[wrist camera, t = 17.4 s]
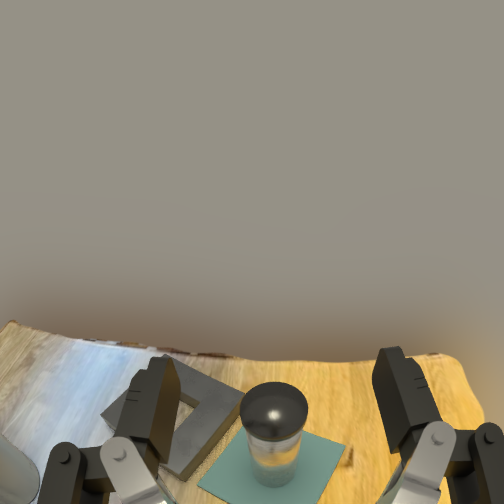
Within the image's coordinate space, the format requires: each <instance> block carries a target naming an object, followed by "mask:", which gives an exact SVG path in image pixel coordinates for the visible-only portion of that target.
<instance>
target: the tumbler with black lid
mask: <svg viewBox="0 0 504 504" xmlns="http://www.w3.org/2000/svg"><path fill="white" fill-rule="evenodd" d="M307 414H308V403H307V400H306V398H305V396H304V395H303V394H302V392H301V391H299V390H298V389H297V388H296V387H294V386H292V385H289V384H287V383H282V382H267V383H263V384H260V385H257V386H255V387H254V388H252V389H251V390H249V391H248V392H247V393H246V394H245V396H244V397H243V399H242V401H241V404H240V416H241V421H242V424H243V426H244V428H245V431H246V437H247V443H248V448H249V454H250V460H251V465H252V471H253V475H254V477H255V479H256V480H257V481H258V482H259V483H260V484H262V485H264V486H266V487H271V488H276V487H281V486H284V485H286V484H287V483H289V482H290V481H291V480H292V479H293V477H294V475H295V472H296V466H297V461H298V455H299V449H300V443H301V437H302V430H303V427H304V425H305V423H306V420H307Z"/></svg>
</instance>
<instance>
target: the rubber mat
mask: <svg viewBox="0 0 504 504" xmlns="http://www.w3.org/2000/svg"><path fill="white" fill-rule="evenodd" d="M344 448H345V445H342V444H339V443H336V442H333V441H331V440H328V439H325V438H322V437H319V436H316V435H314V434H311V433H308V432H306V431H303V430H302V437H301V443H300V449H299V455H298V461H297V466H296V472H295V475H294V477H293V479H292V480H291V481H290V482H289V483H287V484H286V485H284V486H281V487H276V488H271V487H266V486H264V485H262V484H260V483H259V482H258V481H257V480H256V479H255V477H254V475H253V471H252V465H251V460H250V454H249V448H248V443H247V437H246V431H245V428H244V426H242V427H241V429H240V430H239V432H238V433H237V434H236V436H235V437H234V438H233V439H232V441H231V442H230V443H229V445H228V446H227V447H226V449H225V450H224V451H223V453H222V454H221V455H220V456H219V458H218V459H217V460H216V461H215V463H214V464H213V465H212V466H211V468H210V469H209V470H208V471H207V473H206V474H205V475H204V476H203V478H202V479H201V480H200V481H199V482H198V484H197V486H199V487H201V488H202V489H204V490H206V491H207V492H209V493H211V494H213V495H214V496H216V497H218V498H220V499H222V500H224V501H225V502H227V503H229V504H316V503H317V501H318V499H319V498H320V496H321V494H322V492H323V490H324V488H325V487H326V485H327V483H328V481H329V479H330V477H331V475H332V473H333V471H334V469H335V467H336V465H337V463H338V461H339V459H340V457H341V455H342V453H343V451H344Z"/></svg>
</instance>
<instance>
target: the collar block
mask: <svg viewBox="0 0 504 504" xmlns="http://www.w3.org/2000/svg"><path fill="white" fill-rule="evenodd" d="M162 357H170V356H168V355H167V354H164V355H163V356H162ZM170 358H172V357H170ZM172 360H173V363H174V366H175V369H176V371H177V374H178V377H179V380H180V384H181V394H180V400H181V401H183V402H185V403H186V404H188V405H190V406H192V407H193V408H195V409H194V410H193V412H192V413H191V414H190V415H189V416H188V417H187V418H186V419H185V421H184V422H183V423H182V424H181V425H180V426H179V427H178V428H177V430H176V431H175V432H174V433H173V438H172V443H171V449H170V455H169V461H168V464H161V463H159V465H160V466H161V467H163V468H164V469H166V470H167V471H169V472H170V473H172V474H173V475H175V476H176V477H178V478H179V479H181V480H182V481H184V482H186V481H187V479H188V478H189V477H190V476H191V475H192V474H193V472H194V471H195V470H196V469H197V468H198V466H199V465H200V464H201V463H202V462H203V460H204V459H205V458H206V457H207V455H208V454H209V453H210V452H211V451H212V449H213V448H214V447H215V446H216V444H217V443H218V442H219V440H220V439H221V438H222V437H223V435H224V434H225V433H226V432H227V430H228V429H229V428H230V426H231V425H232V424H233V422H234V421H235V420H236V419H237V417H238V416H239V415H240V404H241V401H242V399H243V397H244V396H245V393H243V392H241V391H239V390H236V389H234V388H232V387H230V386H228V385H226V384H224V383H221V382H219V381H217V380H215V379H213V378H211V377H209V376H207V375H205V374H203V373H201V372H199V371H197V370H195V369H193V368H191V367H189V366H187V365H185V364H183V363H182V362H180V361H178V360H176V359H174V358H172ZM128 389H129V388H128ZM128 389H127V390H126V391H125V392H124V393H123V394H122V395H121V396H120V397H119V398H117V399H116V400H115V401H114V402H113V403H112V404H111V405H110V406H109V407H108V408H107V409H106V410H105V411H104V412H103V413H101V414H100V415H101V417H102V418H103V419H104V420H105V422H106V423H107V424H108V426H110V427H111V428H112V429H113V430H114V431H116V428H117V425H118V421H119V418H120V415H121V411H122V408H123V405H124V402H125V401H126V399H125V398H126V395H127V392H128Z"/></svg>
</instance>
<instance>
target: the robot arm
mask: <svg viewBox="0 0 504 504" xmlns="http://www.w3.org/2000/svg"><path fill="white" fill-rule="evenodd" d="M372 385H373V389H374V393H375V396H376V400H377V403H378V407H379V410H380V414H381V418H382V422H383V425H384V429H385V433H386V437H387V441H388V445H389V449H390V453H391V454H394V453H399V452H400V456H401V459H400V461H399V463H398V465H397V467H396V469H395V471H394V473H393V475H392V477H391V479H390V480H389V482H388V484H387V486H386V488H385V490H384V491H383V493H382V495H381V496H380V498H379V499H378V501H377V502H376V503H375V504H437V503H438V501H439V498H440V495H441V490H439V486H440V483H441V481H442V479H443V477H446V479H447V483H448V488H449V493H450V499H451V504H504V435H503V432H502V430H501V429H500V427H499V426H497V425H496V424H494V423H490V422H489V423H484V424H482V425H480V426H479V427H478V428H477V429H476V430H457V429H453V427H452V426H451V425H449V424H448V423H446V422H443V420H442V418H441V416H440V414H439V411H438V408H437V406H436V403H435V401H434V398H433V396H432V393H431V391H430V388H428V383H427V381H426V379H425V376H424V374H423V371H422V369H421V367H420V365H419V364H418V363H417V362H416V361H415V360H414V359H413V358H412V357H411V358H405V356H404V354H403V351H402V349H401V348H400V347H399V346H396V347H389V348H382V349H380V351H379V354H378V357H377V360H376V363H375V366H374V369H373V373H372ZM180 394H181V384H180V380H179V377H178V374H177V371H176V369H175V366H174V363H173V360H172V358H170V357H152V358H151V359H150V362H149V365H148V368H147V370H143V369H140V370H139V371H138V372H137V373H136V374H135V376H134V377H133V378H132V380H131V383H130V386H129V389H128V392H127V395H126V398H125V399H126V401H125V402H124V405H123V408H122V411H121V415H120V418H119V421H118V425H117V428H116V431H115V434H114V436H113V437H112V438H111V439H109V440H107V441H106V442H105V443H104V444H103V445H102V446H98V447H90V448H79V449H78V448H77V447H76V446H75V445H74V444H72V443H70V442H61V443H59V444H57V445H55V446H54V447H53V449H52V450H51V452H50V455H49V459H48V462H47V466H46V469H45V473H44V477H43V481H42V485H41V489H40V493H39V497H38V502H37V504H108V503H109V496H110V492H117V494H118V496H119V498H120V500H121V502H122V504H178V503H177V502H176V500H175V499H174V497H173V496H172V494H171V493H170V491H169V490H168V488H167V486H166V485H165V483H164V482H163V480H162V479H161V477H160V475H159V474H158V467H159V463H161V464H168V461H169V455H170V449H171V443H172V438H173V432H174V426H175V421H176V415H177V410H178V405H179V400H180ZM38 488H39V474H38V471H37V468H36V466H35V465H34V463H33V462H32V461H31V460H30V459H29V458H28V457H27V456H26V455H25V454H24V453H22V452H21V451H20V450H19V449H17V448H16V447H15V446H14V445H13V444H12V443H11V442H10V441H9V440H7V439H6V438H5V437H4V436H3V435H2V434H1V433H0V504H29V503H30V502H31V501H32V500H33V499H34V497H35V496H36V494H37V492H38Z"/></svg>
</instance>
